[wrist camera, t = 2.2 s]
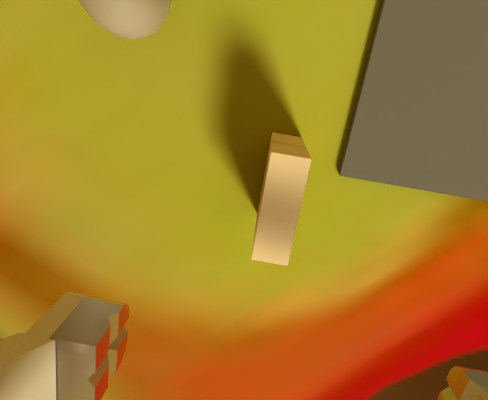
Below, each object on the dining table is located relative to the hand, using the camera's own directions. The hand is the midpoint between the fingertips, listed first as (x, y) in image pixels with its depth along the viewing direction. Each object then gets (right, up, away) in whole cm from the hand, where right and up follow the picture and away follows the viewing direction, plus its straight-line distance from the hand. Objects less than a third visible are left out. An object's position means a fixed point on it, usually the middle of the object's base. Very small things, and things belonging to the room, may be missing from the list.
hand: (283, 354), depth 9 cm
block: (+1, +6, +16) cm, 17 cm away
